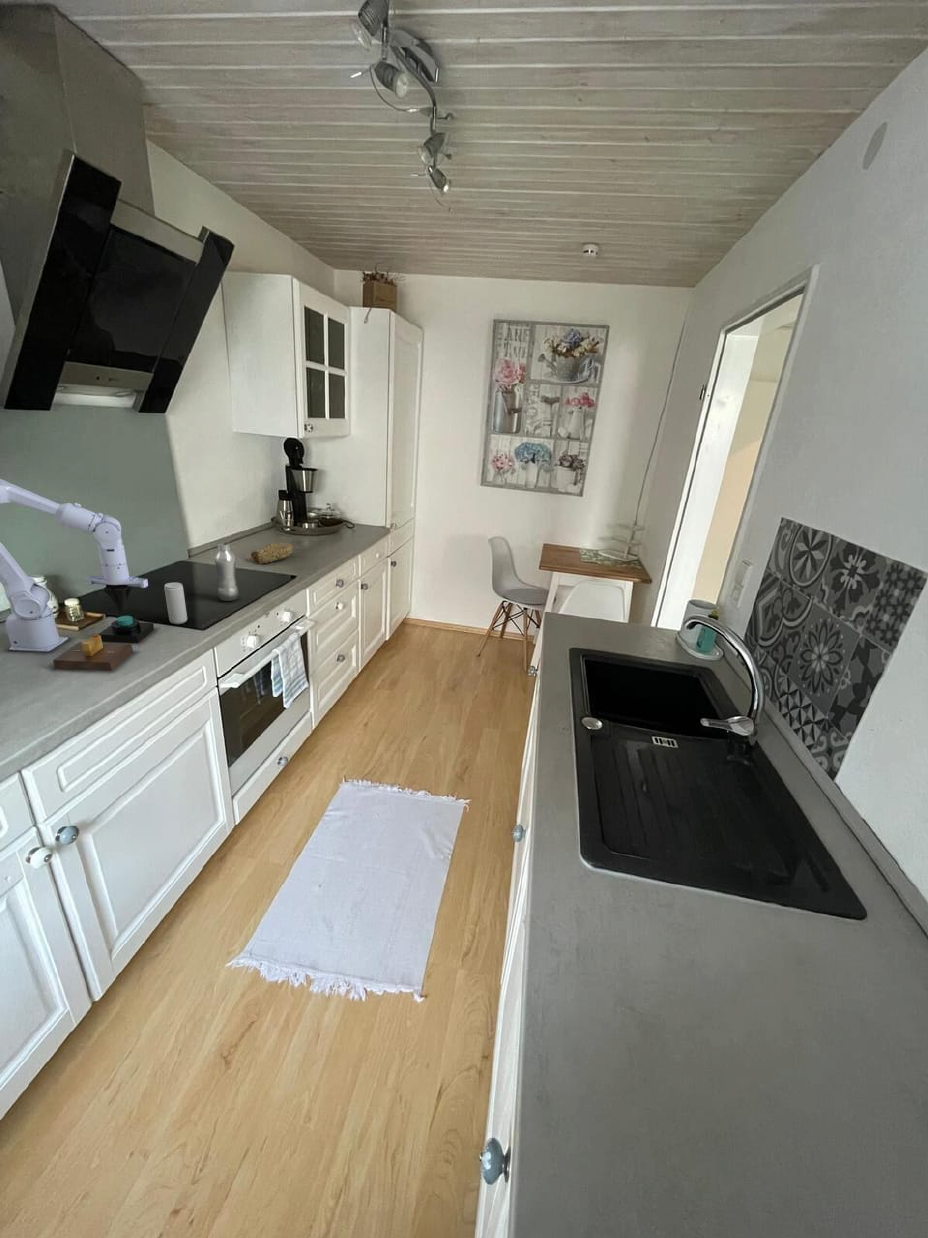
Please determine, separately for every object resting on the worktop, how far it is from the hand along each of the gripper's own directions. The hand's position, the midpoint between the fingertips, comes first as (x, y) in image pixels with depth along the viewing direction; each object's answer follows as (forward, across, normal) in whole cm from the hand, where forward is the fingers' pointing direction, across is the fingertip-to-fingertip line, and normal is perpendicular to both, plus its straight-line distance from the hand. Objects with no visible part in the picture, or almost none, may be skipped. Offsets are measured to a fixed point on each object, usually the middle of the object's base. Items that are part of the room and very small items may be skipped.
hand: (122, 609), depth 135 cm
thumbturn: (+5, 0, +15) cm, 16 cm away
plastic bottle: (+8, -17, -31) cm, 36 cm away
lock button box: (+8, 0, 0) cm, 8 cm away
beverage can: (+8, -9, -11) cm, 16 cm away
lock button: (+4, 0, 0) cm, 4 cm away
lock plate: (+8, 0, +15) cm, 17 cm away
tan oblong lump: (+8, -19, -81) cm, 84 cm away
